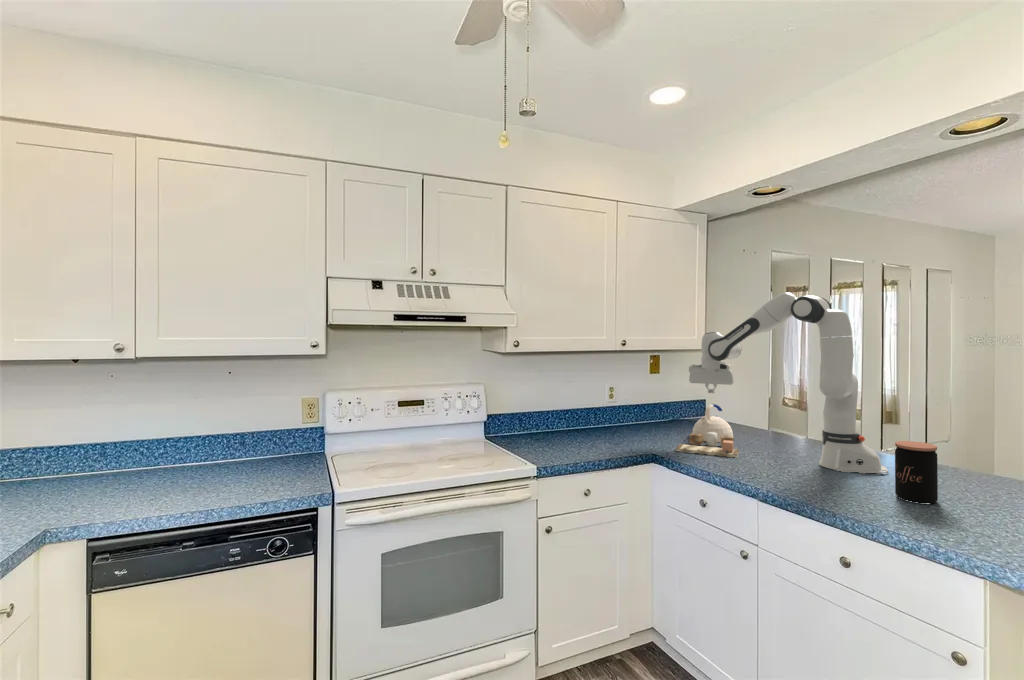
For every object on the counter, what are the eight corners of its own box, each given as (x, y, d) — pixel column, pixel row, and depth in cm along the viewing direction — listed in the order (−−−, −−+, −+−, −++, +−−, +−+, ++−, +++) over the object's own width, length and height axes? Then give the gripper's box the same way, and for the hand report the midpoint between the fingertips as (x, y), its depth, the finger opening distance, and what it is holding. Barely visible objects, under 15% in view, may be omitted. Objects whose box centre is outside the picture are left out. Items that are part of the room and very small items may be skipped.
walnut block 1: (703, 444, 240) (703, 434, 240) (699, 446, 237) (699, 435, 236) (693, 442, 244) (693, 433, 244) (689, 444, 240) (689, 434, 240)
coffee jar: (886, 494, 162) (886, 441, 162) (916, 493, 163) (916, 440, 162) (915, 506, 151) (915, 448, 151) (947, 504, 152) (946, 447, 152)
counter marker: (733, 449, 220) (733, 440, 220) (731, 453, 214) (731, 444, 214) (723, 448, 222) (723, 440, 222) (722, 452, 216) (721, 443, 216)
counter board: (738, 452, 221) (738, 449, 221) (736, 457, 213) (736, 454, 213) (680, 447, 234) (679, 443, 234) (675, 451, 226) (675, 448, 226)
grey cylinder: (718, 444, 238) (717, 432, 238) (716, 446, 234) (716, 434, 234) (707, 443, 241) (707, 431, 241) (705, 445, 236) (705, 433, 236)
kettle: (684, 438, 254) (683, 404, 254) (703, 432, 268) (702, 400, 267) (722, 444, 239) (721, 408, 238) (740, 438, 252) (740, 403, 252)
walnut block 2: (731, 446, 235) (731, 436, 235) (733, 448, 230) (733, 438, 230) (720, 445, 236) (720, 435, 236) (722, 448, 231) (722, 437, 231)
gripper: (687, 364, 239) (687, 392, 240) (732, 366, 229) (732, 395, 229) (690, 364, 245) (690, 391, 245) (734, 365, 235) (734, 393, 235)
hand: (711, 393), depth 237 cm, fingers closed
